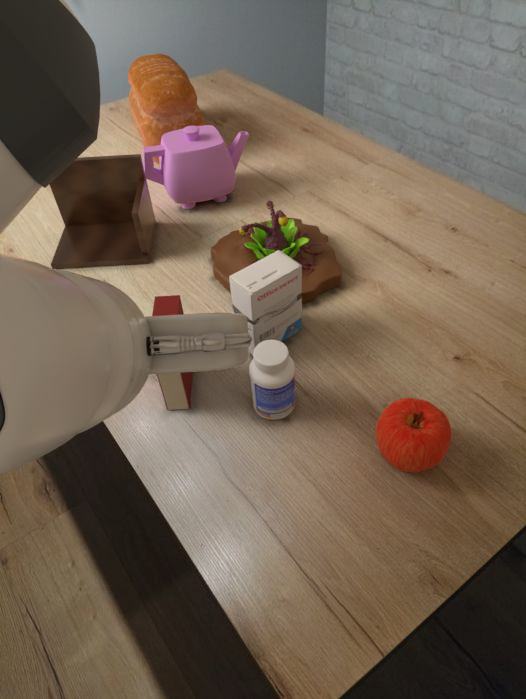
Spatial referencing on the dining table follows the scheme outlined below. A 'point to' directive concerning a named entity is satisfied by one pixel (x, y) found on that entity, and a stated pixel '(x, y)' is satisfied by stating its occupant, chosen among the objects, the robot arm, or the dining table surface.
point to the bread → (161, 98)
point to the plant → (289, 239)
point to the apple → (413, 434)
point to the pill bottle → (272, 380)
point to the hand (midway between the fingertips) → (131, 343)
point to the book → (173, 384)
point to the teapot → (195, 164)
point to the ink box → (269, 297)
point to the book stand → (104, 212)
